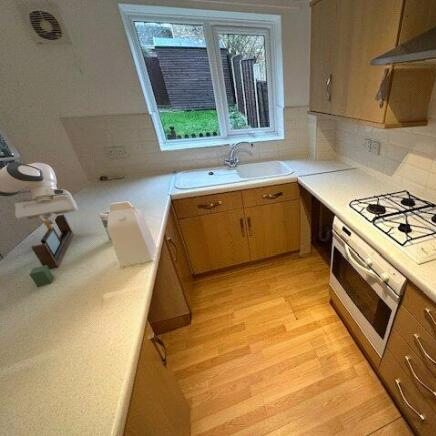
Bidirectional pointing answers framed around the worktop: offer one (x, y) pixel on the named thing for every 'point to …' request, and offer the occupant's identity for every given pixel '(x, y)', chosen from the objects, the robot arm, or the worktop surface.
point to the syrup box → (105, 221)
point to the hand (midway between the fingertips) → (49, 223)
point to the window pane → (51, 239)
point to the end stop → (41, 275)
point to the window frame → (65, 237)
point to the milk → (130, 234)
